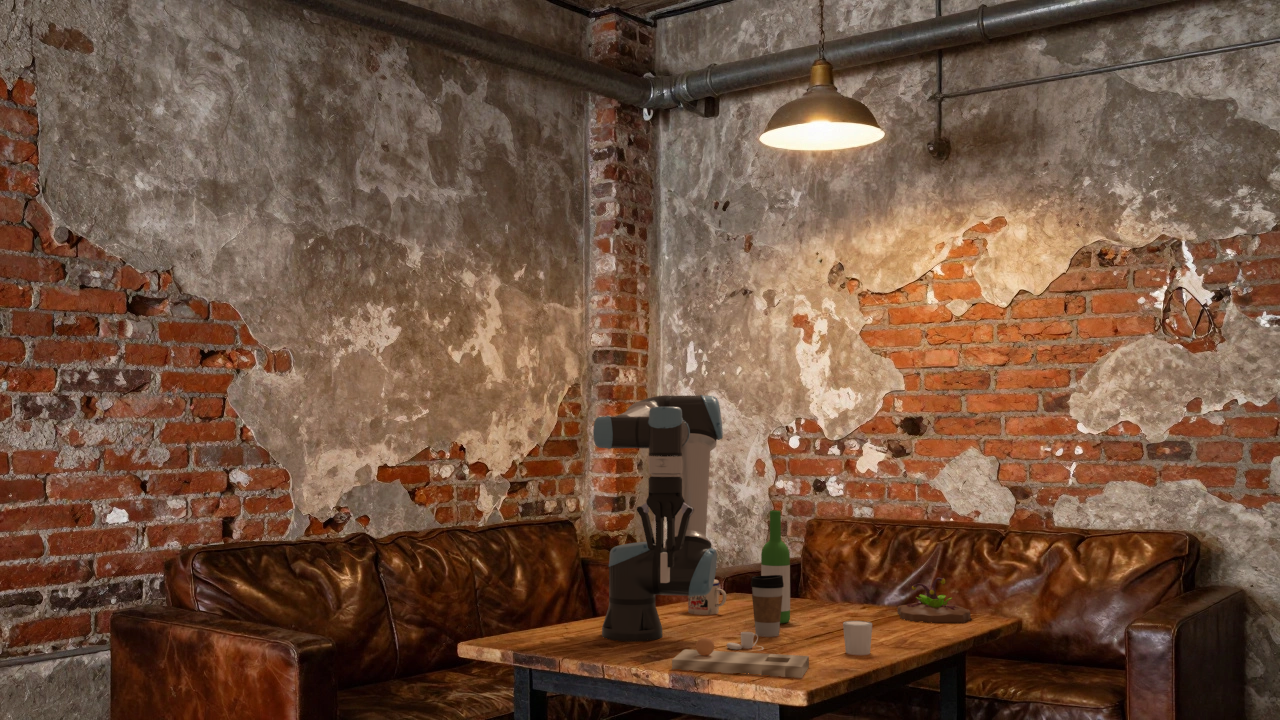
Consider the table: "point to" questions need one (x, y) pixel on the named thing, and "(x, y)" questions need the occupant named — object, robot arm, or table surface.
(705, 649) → the ball
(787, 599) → the wine bottle
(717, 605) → the teacup with lid
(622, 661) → the table surface
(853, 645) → the white cup
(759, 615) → the coffee cup
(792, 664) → the box with square hole
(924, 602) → the plant
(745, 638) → the teacup and saucer
